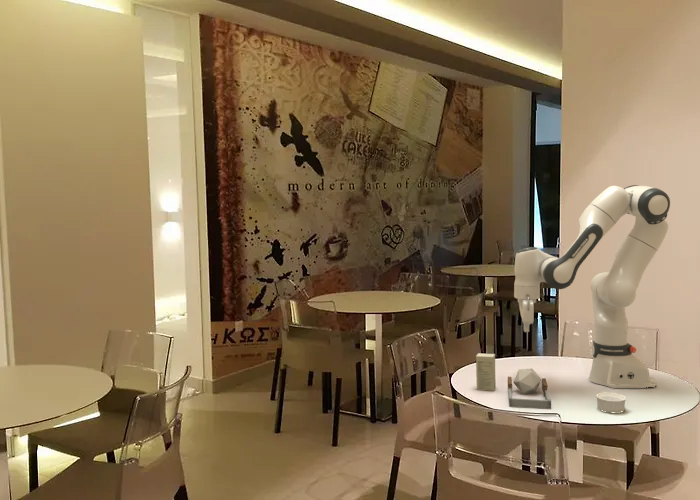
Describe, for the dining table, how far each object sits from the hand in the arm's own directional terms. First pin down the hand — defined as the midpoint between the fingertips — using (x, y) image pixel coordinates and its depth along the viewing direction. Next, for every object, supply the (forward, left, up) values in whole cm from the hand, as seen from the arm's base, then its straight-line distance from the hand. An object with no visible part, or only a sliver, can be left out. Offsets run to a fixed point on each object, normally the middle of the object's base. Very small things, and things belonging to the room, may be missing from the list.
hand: (526, 331), depth 239 cm
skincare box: (+14, +9, -19) cm, 26 cm away
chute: (0, +11, -19) cm, 22 cm away
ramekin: (-25, +24, -19) cm, 40 cm away
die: (0, +10, -19) cm, 22 cm away
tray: (0, +21, -19) cm, 28 cm away
